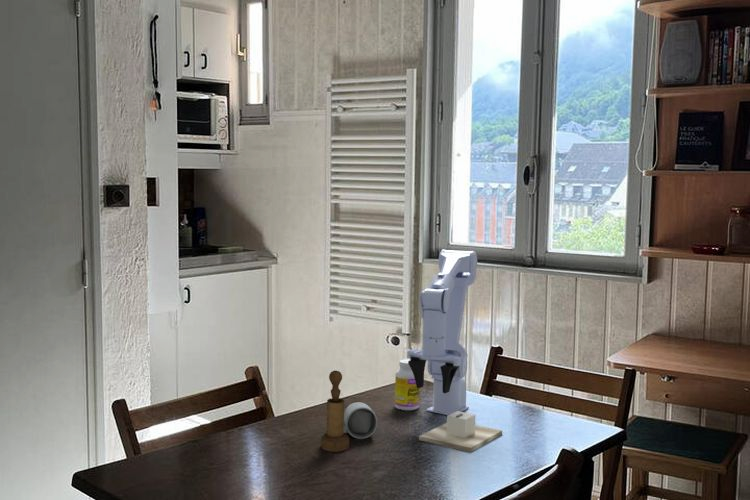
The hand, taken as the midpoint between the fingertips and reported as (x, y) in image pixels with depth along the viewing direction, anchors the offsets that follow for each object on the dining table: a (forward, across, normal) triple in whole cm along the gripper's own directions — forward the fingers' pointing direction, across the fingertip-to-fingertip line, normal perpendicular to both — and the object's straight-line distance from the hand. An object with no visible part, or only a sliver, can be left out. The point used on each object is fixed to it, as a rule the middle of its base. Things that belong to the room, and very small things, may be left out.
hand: (432, 389), depth 207 cm
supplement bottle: (+10, -14, +10) cm, 20 cm away
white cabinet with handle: (+8, +10, -3) cm, 13 cm away
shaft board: (+9, +10, -3) cm, 14 cm away
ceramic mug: (+10, -12, -17) cm, 23 cm away
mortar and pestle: (+10, -10, -27) cm, 30 cm away
